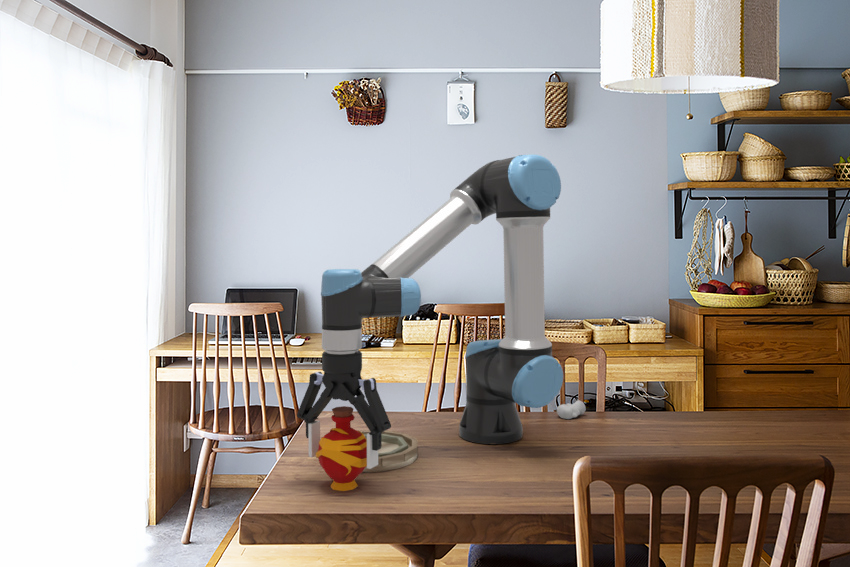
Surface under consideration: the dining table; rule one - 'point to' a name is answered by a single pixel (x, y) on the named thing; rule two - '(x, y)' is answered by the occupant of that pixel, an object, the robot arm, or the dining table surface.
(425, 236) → the robot arm
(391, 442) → the tray
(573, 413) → the pale two-lobed sculpture
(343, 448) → the potion bottle
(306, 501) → the dining table surface
